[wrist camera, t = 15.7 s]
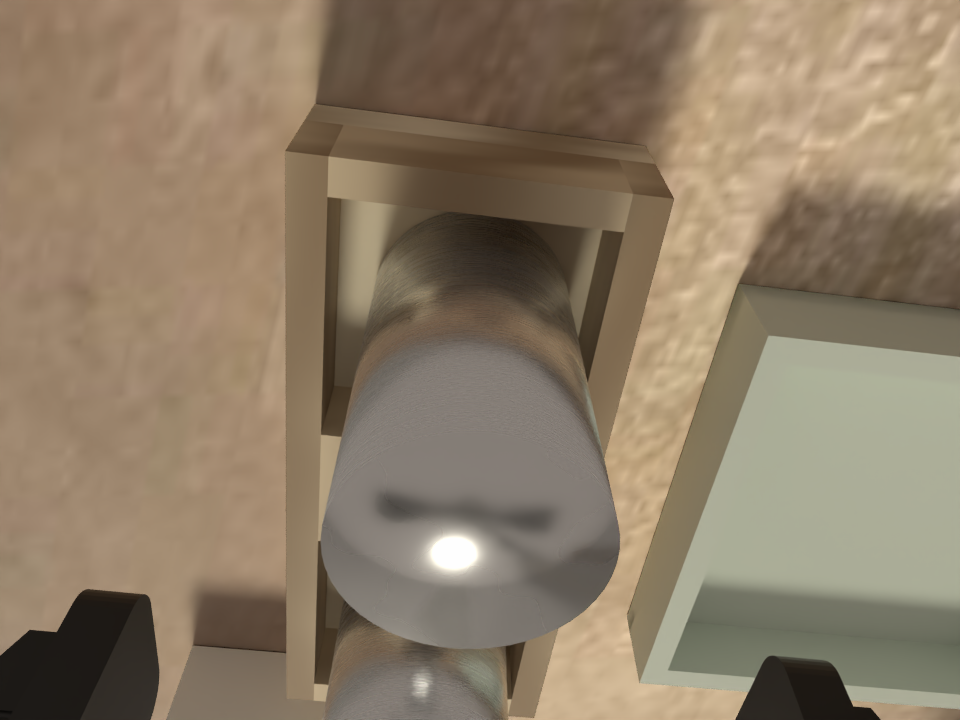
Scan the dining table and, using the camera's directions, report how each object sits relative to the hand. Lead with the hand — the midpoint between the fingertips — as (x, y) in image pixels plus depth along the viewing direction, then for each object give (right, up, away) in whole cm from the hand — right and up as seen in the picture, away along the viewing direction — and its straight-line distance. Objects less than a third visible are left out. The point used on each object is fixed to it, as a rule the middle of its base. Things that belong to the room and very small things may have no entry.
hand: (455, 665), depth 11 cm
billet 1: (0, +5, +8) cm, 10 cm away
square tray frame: (+12, 0, +13) cm, 18 cm away
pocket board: (-1, +2, +12) cm, 12 cm away
